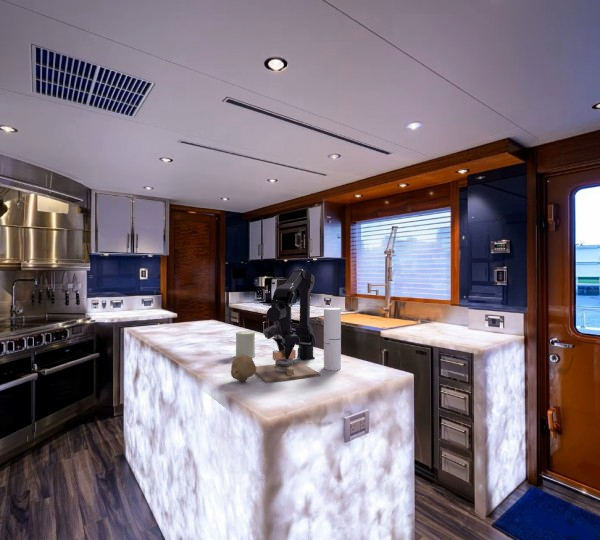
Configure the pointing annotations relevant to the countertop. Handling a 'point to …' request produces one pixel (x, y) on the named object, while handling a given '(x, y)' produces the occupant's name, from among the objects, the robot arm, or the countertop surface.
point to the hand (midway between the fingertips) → (284, 357)
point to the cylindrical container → (332, 338)
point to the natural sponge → (242, 367)
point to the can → (245, 343)
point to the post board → (284, 372)
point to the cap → (283, 358)
